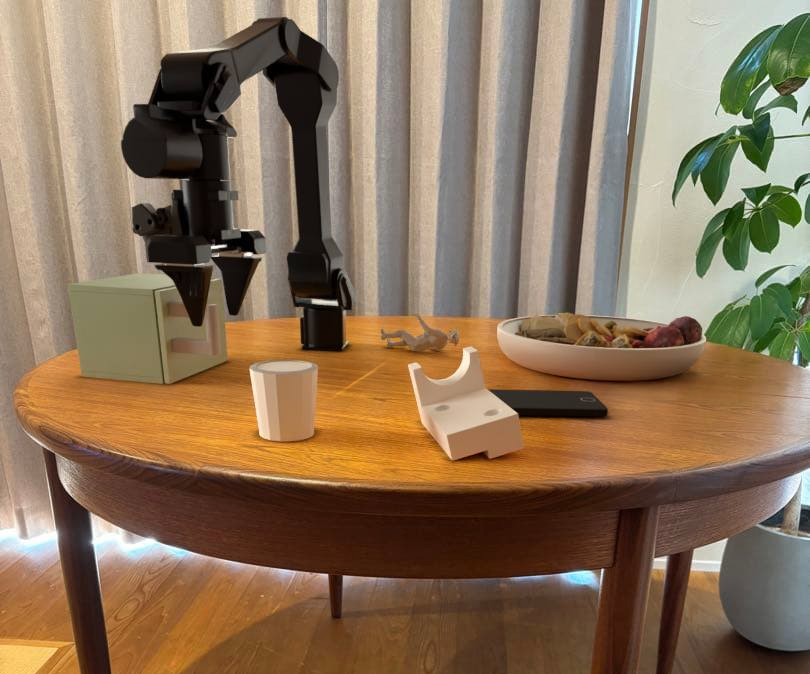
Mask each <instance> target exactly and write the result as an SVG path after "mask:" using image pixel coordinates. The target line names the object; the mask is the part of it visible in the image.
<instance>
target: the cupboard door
mask: <svg viewBox="0 0 810 674" xmlns="http://www.w3.org/2000/svg"><path fill="white" fill-rule="evenodd" d="M155 297H156V306H157V315H158V324H159V333H160V343H161V352H162V361H163V370H164V379H165V383H164V384H168V385H171V384H173V383H176V382H178V381H181V380H183V379H186V378H189V377H190V376H194V375H196V374H198V373H202V372H203V371H206V370H208V369H211V368H213V367H215V366H218V365H221V364H223V363H225V362H227V361H229V358H228V345H227V333H226V332H227V331H226V319H225V305H224V304H225V303H224V288H223V280H222V278H215V279H213V280H211V282H210V288H209V294H208V299H207V305H206V311H205V316H204V320H203V324H202V326H200V327H197V326H193V325H192V323H191V320H190V318H189V316H188V313H187V311H186V308H185V306H184V304H183V301H182V299H181V296H180V294H179V292H178V290H177V288H176V287H172V288H167V289H162V290H157V291H155Z"/></svg>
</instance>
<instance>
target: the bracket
mask: <svg viewBox="0 0 810 674" xmlns="http://www.w3.org/2000/svg"><path fill="white" fill-rule="evenodd" d="M407 367H408V371H409V375H410V380H411V383H412V387H413V392H414V396H415V400H416V405H417V409H418V414H419V417H420V422H421V424H422V425H423V426H424V428H425V429H426V430H427V432H428V433H429V434H430V435H431V436H432V437H433V439H434V440H435V441H436V443H437V444H438V445H439V447H441V449H442V450H443V451H444V453H445V454H446V455H447V456H448V457H449V459H450V460H451V461H456V460H460V459H463V458H467V457H469V456H472V455H476V454H479V453H483V454H484V455H485V456H486V457H487V458H488V459H490V460H491V459H494V458H497V457H501V456H503V455H508V454H510V453H513V452H517V451H521V450H523V449H525V445H524V438H523V433H522V429H521V428H522V427H521V423H520V417H519V416H520V415H518V413H517V412H515V411H514V410H513V409H512V408H510V407H509V406H508V405H507V404H505V403H504V402H503V401H501V400H500V399H499V398H498V397H496V396H495V395H494V394H493V393H491V392H490V391H489V390H488V389H489V388H486V385H485V384H486V383H485V380H484V375H483V370H482V369H483V368H482V364H481V358H480V353H479V350H478V349H477V348H475V347H473V346H472V345H470V346H466V347H463V348H462V360H461V363H460V365H459V367H458V368H457V370H456V371H455V372H454V373H452V375H449V376H448V377H446V378H442V379H434V378H430V377H428V376H426V375H425V372H424V370H423V367H422V366H421V365H420V364H419V363H418V362H417V361H416V362H413V363H409V364H407Z"/></svg>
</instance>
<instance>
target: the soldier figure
mask: <svg viewBox="0 0 810 674" xmlns="http://www.w3.org/2000/svg"><path fill="white" fill-rule="evenodd" d="M413 316H414V317H416V318H417V320H418V322H419V325H420V326H421V328H422V329H423V330H424V333H423V334H419V335H417V336H416V337H415V336H414V335H413V334H411V333H410V332H408V331H407V330H405V329H399V330H396V331H392V332H386V331H385V328H381V329H380V333H381V339H380V340H382V341H384V340H386V339H387V340H386V343H387V344H386V349H390V348H393V347H402V348H403V347H404V348H405V347H408V349H410V350H411V351H414V352H417V353H418V352H419V353H421V352H425V351H427V350H429V349H431V348H433V349H434V350H435V351H436V352H440V351H441V350H443V349H444V348H446V347H447V345H448V342H449V343H450V344H453V345H454V347H455V348H456V347H457V345H458V344H459V341H460V336H459V335H460V334H459V331H458V329H457V328H455V329H453V330H452V331H451V330H449V331H448V334H447V333H446V332H444V331H442V330H440V329H437V328H436V329H435V328H432V327H430V326H429V325H428V324H426V322H425V321H424V319H423V318H422V317H421V315H420V314H419V313H415V314H414V315H413ZM398 338H400V339H402V340H400V341H399V340H398V341H392V339H398Z"/></svg>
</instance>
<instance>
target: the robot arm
mask: <svg viewBox="0 0 810 674" xmlns="http://www.w3.org/2000/svg"><path fill="white" fill-rule="evenodd" d="M336 63H337V62H336V61H335V60H334V58H333V57H332V56H331V53H329V51H328V50H327V48H326V47H325V46H324V44H322V43H321V42H320V41H318V40H316V39H315V38H313V37H312V36H310V35H309V34H308V33H306V32H304V31H302V30H301V29H300V28H299V26H298V25H297V24H296V22H295V21H294V20H293V19H292V18H289V17H287V16H276V17H261V18H259V17H258V18H257V19H256V20H254V21H253V22H252V23H251V25H249V26H247V27H246V28H244V29H242V30H240V31H238V32H236V33H234V34H233V35H230V36H229V37H227V38H226V39H224V40H222V41H220V42H218V43H217V44H214V45H213V46H210V47H209V48H199V49H189V50H188V49H187V50H179V51H172V52H168V53H166V54H165V55H163V56H162V58H161V60H160V62H159V65H160V69H159V71H158V74H157V77H156V79H155V83H154V86H153V88H152V92H151V94H150V97H149V99H148V103H134V104H133V106H132V110H133V117H132V118H131V119H130V120H129V121H128V122H127V123H126V125H125V127H124V129H123V133H122V139H121V140H120V149H121V154H122V157H123V160H124V163H125V164H126V165H127V167H128V169H129V170H130V171H131V172H132V174H135V175H136V176H138V177H139V178H143V179H149V180H150V179H151V180H152V179H153V180H154V179H155V180H178V182H179V189H172V192H171V193H170V201H171V203H170V205H167V206H164V207H158V208H155V207H154V206H153V205H152V204H151V203H150V202H143V203H142V202H141V203H138V204H136V205H134V206H131V225H132V228H131V230H132V232H133V234H135V235H137V236H140V237H142V239H143V241H144V248H145V257H146V262H147V263H150V264H151V263H153V264H154V263H156V264H154V265H153V266H154V268H155V269H156V270H157V271H161V272H163V273H164V275H167V276H169V277H170V278H171V279H172V280H173V282H174V284H175V286H176V288H177V290H178V292H179V294H180V296H181V299H182V301H183V304H184V306H185V308H186V311H187V313H188V316H189V318H190V320H191V323H192V325H193V326H197V327H200V326H202V324H203V320H204V316H205V311H206V305H207V299H208V294H209V288H210V282H211V277H213V270H214V265H212V264H208V263H210V261H212V262H213V264H215V266H216V267H218V269H219V271H220V273H221V279H222V286H223V292H224V296H225V303H226V308H227V311H228V314H229V316H235V317H236V316H238V315H239V314H240V311H241V308H242V305H243V302H244V300H245V297H246V295H247V292H248V290H249V287H250V284H251V282H252V280H253V277H254V275H255V273H256V271H257V269H258V266H259V263H260V262H262V259H263V257H262V256H257V255H262V254H263V255H264V254H267V241H266V240H267V238H266V236H265V235H264V234H263V233H262V232H261V231H260V230H259V229H246V228H245V229H243V228H235V227H234V212H233V201H239V190H232V183H231V168H230V154H229V153H230V152H229V151H230V150H229V140H228V139H232V138H233V139H236V138H237V136H238V131H237V130H236V129H235V127H234V126H233V125H232V124H230V122H229V121H228V120H227V119H226V116H225V115H224V114H223V113H225V112H228V111H229V110H230V109H231V108H232V106H233V105H234V104H235V103H236V102H237V101H238V99H239V98H240V97H241V95H242V90H241V86H242V85H243V84H244V83H245V82H247V81H248V80H250V79H251V78H253V77H254V76H256V75H257V74H259V73H261V72H262V75H263V76H264V77H265V78H266V79H267V81H268V82H269V83H270V84H271V85H272V87H273V88H274V91H275V97H276V101H277V107H278V108H279V110H280V111H281V113H282V115H283V117H284V118H285V120H286V121H287V123H288V125H289V127H290V132H291V133H290V134H291V135H290V136H291V146H292V147H291V149H292V162H293V176H294V190H295V191H294V192H295V203H296V205H295V206H296V218H297V233H298V239H297V240H296V244H295V246H294V247H293V249H292V251H288V252H287V256H286V262H287V281H288V286H289V291H290V295H291V300H292V304H293V307H294V308H302V316H301V317H299V333H300V345H301V350H304V351H305V350H307V351H326V352H327V351H329V352H330V351H331V352H342V351H344V350H345V349H346V348H347V347H348V345H349V341H348V340H347V311H353V310H354V308H356V303H357V293H356V290H355V288H354V285H353V284H352V281H351V280H350V278H349V274H348V273H347V271H346V266H345V258H344V254H343V252H342V251H341V249H340V247H339V246H338V244H337V243H336V241H335V240H334V239H335V238H333V234H332V232H333V231H332V214H331V194H330V175H329V156H328V155H329V154H328V153H329V152H328V135H327V134H328V133H327V126H328V124H329V121H330V120H331V117H332V115H333V114H334V111H335V109H336V108H337V107H336V106H337V103H338V98H337V97H338V86H339V82H340V76H339V74H340V73H339V69H338V65H337V64H336ZM213 254H217V255H213ZM255 255H256V256H255Z"/></svg>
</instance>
